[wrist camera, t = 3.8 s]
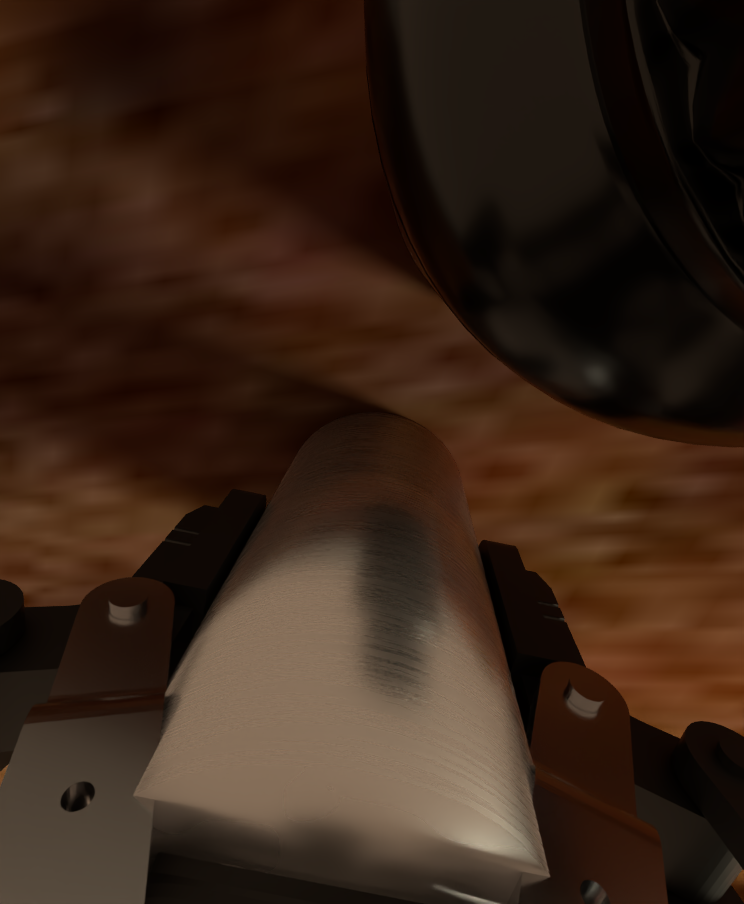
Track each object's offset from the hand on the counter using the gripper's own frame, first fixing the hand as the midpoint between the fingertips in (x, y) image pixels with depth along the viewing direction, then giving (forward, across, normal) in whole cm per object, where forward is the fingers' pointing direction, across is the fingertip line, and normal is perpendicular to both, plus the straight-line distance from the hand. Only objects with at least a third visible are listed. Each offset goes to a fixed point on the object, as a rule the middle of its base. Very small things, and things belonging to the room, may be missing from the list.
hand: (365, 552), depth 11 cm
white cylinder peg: (+3, 0, 0) cm, 3 cm away
